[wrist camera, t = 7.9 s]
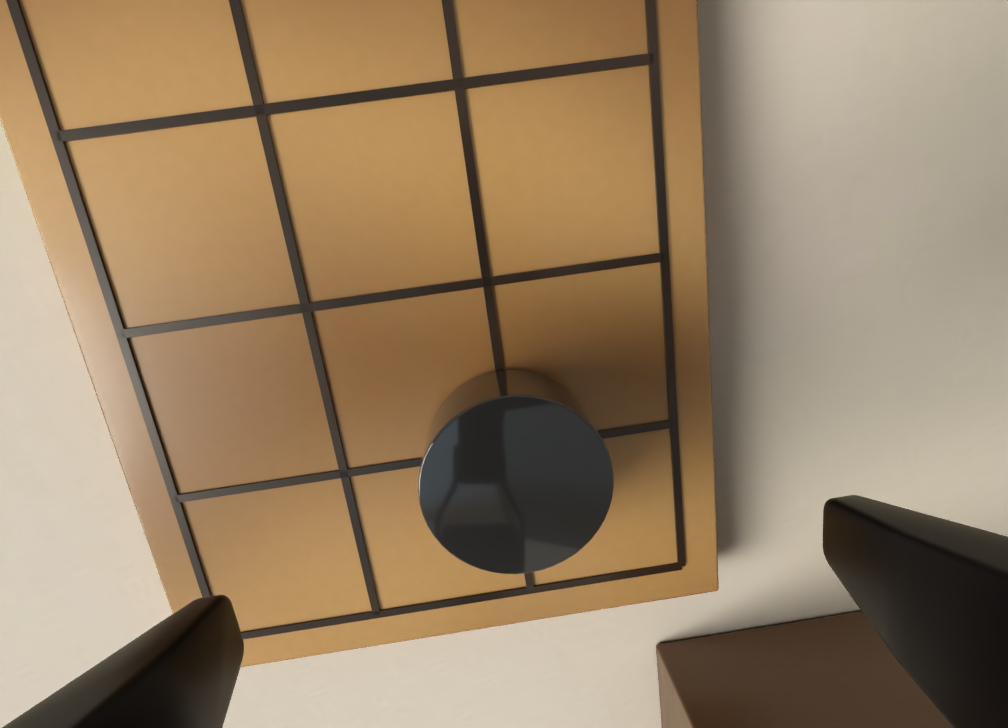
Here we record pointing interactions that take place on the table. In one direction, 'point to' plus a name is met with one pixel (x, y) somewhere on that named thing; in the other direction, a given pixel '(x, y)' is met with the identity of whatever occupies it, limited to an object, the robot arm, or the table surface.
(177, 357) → the board
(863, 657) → the stone stand
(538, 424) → the game stone
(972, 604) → the robot arm
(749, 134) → the table surface
